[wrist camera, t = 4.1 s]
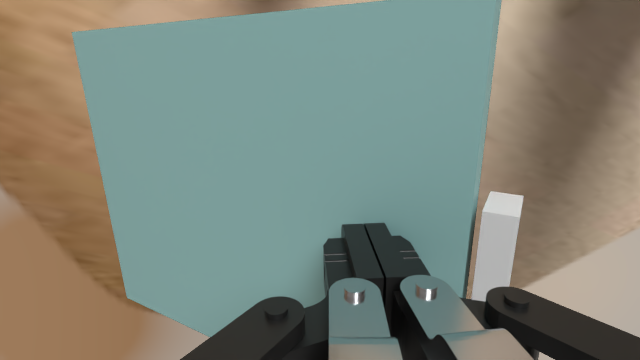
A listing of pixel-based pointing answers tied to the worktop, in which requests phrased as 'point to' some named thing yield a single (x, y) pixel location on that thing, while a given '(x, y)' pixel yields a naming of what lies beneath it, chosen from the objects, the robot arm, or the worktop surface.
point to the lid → (294, 148)
